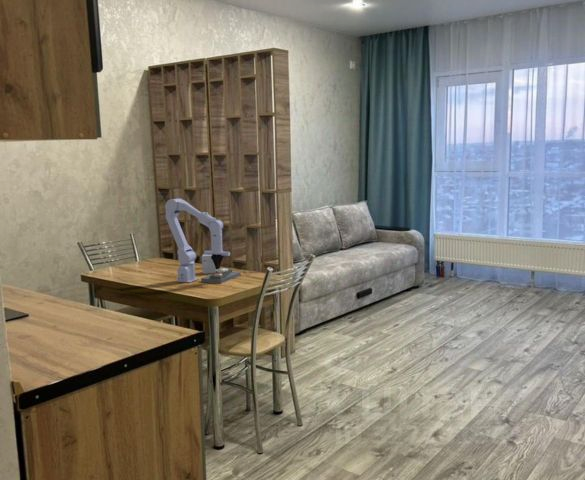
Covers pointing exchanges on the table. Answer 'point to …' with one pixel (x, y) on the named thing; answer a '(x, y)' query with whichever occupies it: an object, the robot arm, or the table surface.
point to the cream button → (221, 270)
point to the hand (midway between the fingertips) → (217, 268)
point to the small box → (208, 265)
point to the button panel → (221, 277)
